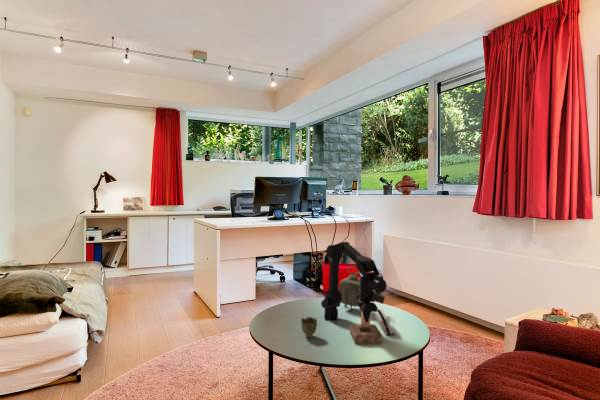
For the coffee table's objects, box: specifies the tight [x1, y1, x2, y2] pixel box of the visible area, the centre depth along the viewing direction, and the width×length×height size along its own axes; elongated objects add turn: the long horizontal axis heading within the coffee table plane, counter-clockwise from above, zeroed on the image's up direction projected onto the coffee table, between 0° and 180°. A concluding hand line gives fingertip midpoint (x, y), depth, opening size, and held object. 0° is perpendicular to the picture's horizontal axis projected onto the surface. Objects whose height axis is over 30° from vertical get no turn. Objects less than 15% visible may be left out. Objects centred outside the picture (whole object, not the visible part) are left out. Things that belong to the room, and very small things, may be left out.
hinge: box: [374, 308, 397, 336], centre depth 170 cm, size 17×5×10 cm, turn 0°
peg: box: [360, 310, 371, 326], centre depth 158 cm, size 4×4×8 cm
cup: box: [300, 316, 318, 339], centre depth 159 cm, size 8×7×8 cm
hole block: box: [349, 324, 383, 345], centre depth 158 cm, size 12×12×4 cm
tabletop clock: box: [338, 266, 360, 312], centre depth 195 cm, size 14×9×25 cm, turn 58°
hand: (365, 320), depth 158 cm, fingers closed on peg, 4 cm apart
